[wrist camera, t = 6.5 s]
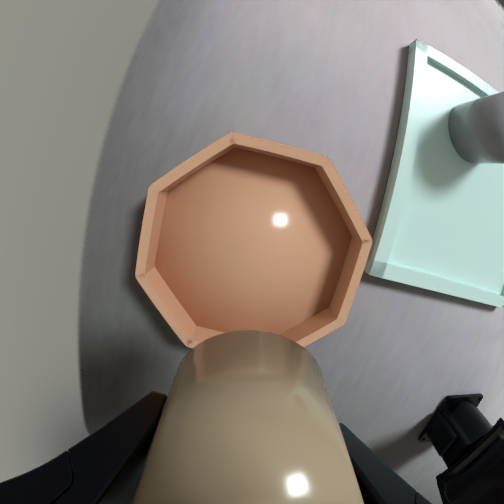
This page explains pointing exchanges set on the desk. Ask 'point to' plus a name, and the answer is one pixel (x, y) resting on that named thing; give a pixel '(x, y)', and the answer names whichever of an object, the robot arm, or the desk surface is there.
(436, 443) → the robot arm
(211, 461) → the river pebble
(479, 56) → the desk surface
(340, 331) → the desk surface
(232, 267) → the dish
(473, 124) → the grey rounded lump
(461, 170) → the parts tray
